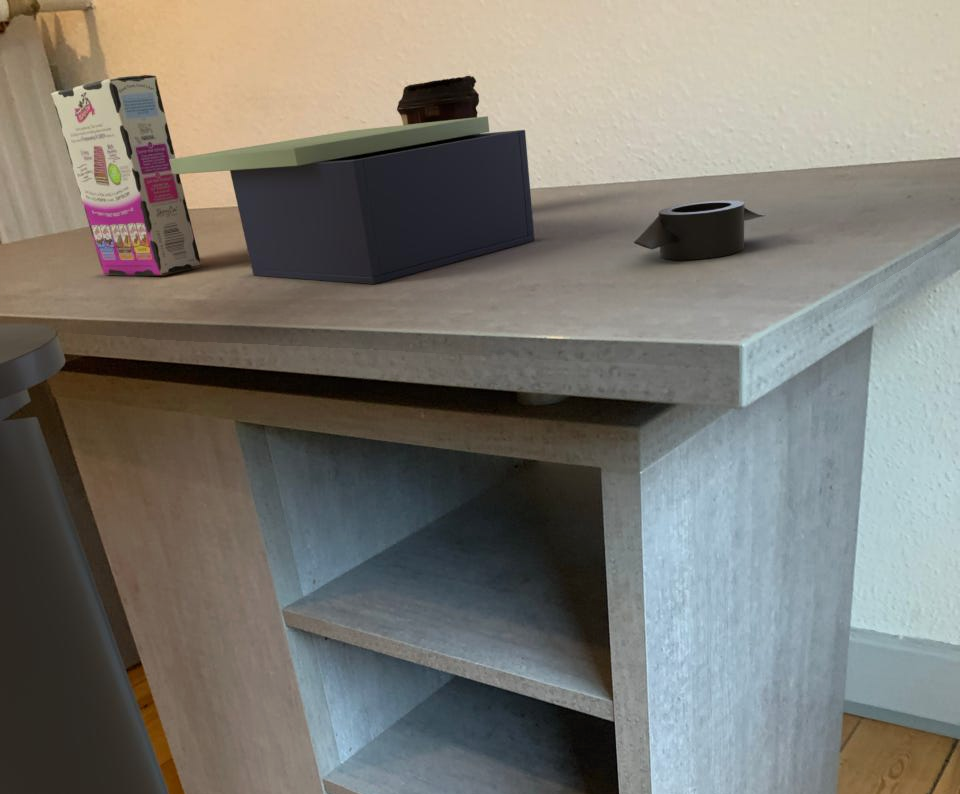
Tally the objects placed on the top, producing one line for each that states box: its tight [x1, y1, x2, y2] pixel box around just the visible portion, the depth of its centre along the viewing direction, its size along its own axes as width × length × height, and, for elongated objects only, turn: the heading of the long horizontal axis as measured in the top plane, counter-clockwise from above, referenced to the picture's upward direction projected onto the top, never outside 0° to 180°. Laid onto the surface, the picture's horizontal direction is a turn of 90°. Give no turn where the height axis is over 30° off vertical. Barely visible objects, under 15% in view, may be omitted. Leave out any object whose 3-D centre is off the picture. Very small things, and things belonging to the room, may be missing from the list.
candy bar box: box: [50, 74, 202, 277], centre depth 93 cm, size 11×5×16 cm, turn 49°
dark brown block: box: [396, 75, 480, 125], centre depth 100 cm, size 9×8×13 cm
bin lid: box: [169, 115, 490, 175], centre depth 85 cm, size 20×20×1 cm
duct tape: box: [633, 199, 767, 261], centre depth 68 cm, size 8×10×3 cm
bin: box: [229, 129, 536, 285], centre depth 83 cm, size 18×18×8 cm
